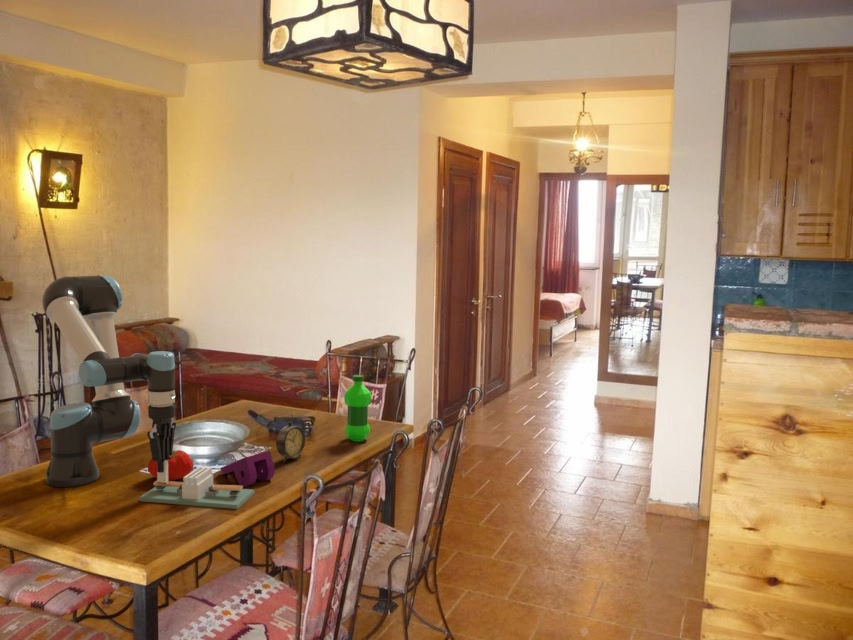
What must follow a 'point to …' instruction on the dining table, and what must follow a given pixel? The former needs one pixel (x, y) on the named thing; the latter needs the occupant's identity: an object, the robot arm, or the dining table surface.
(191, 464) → the tomato
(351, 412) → the plastic bottle
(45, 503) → the dining table surface
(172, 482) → the strap
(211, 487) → the strap
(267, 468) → the mounting bracket
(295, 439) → the alarm clock
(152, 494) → the board
